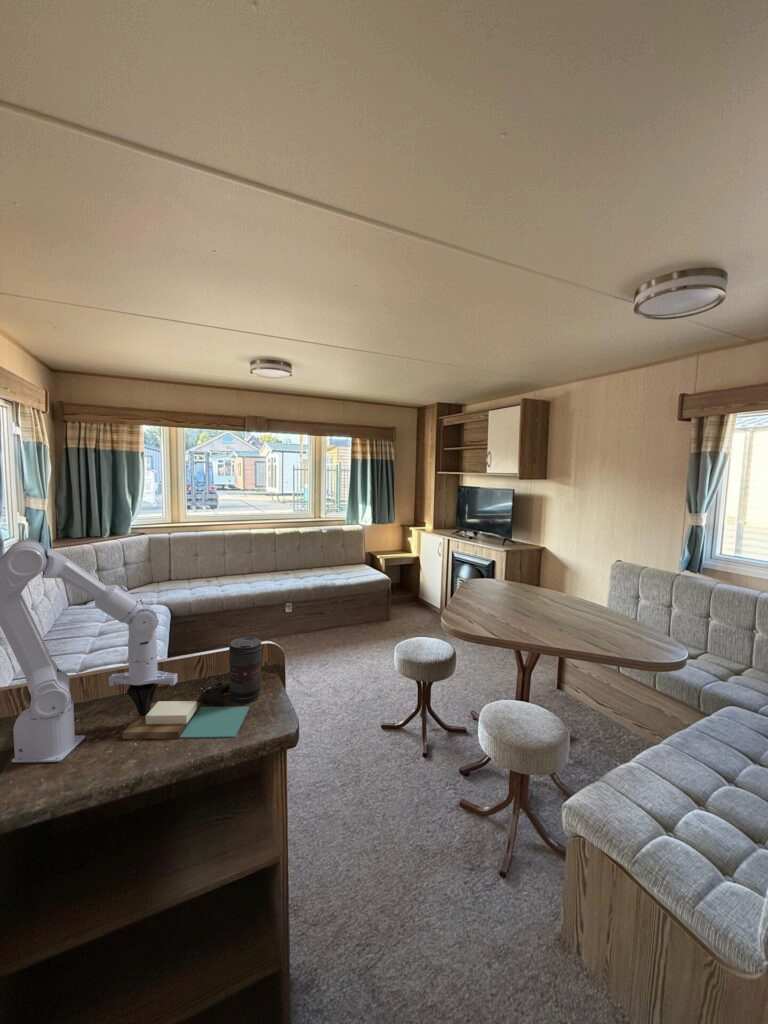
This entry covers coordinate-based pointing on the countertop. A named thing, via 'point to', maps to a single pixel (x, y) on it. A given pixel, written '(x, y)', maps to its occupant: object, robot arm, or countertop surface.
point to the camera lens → (245, 669)
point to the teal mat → (215, 722)
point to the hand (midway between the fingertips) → (144, 713)
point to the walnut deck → (154, 728)
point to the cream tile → (171, 712)
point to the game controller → (215, 693)
